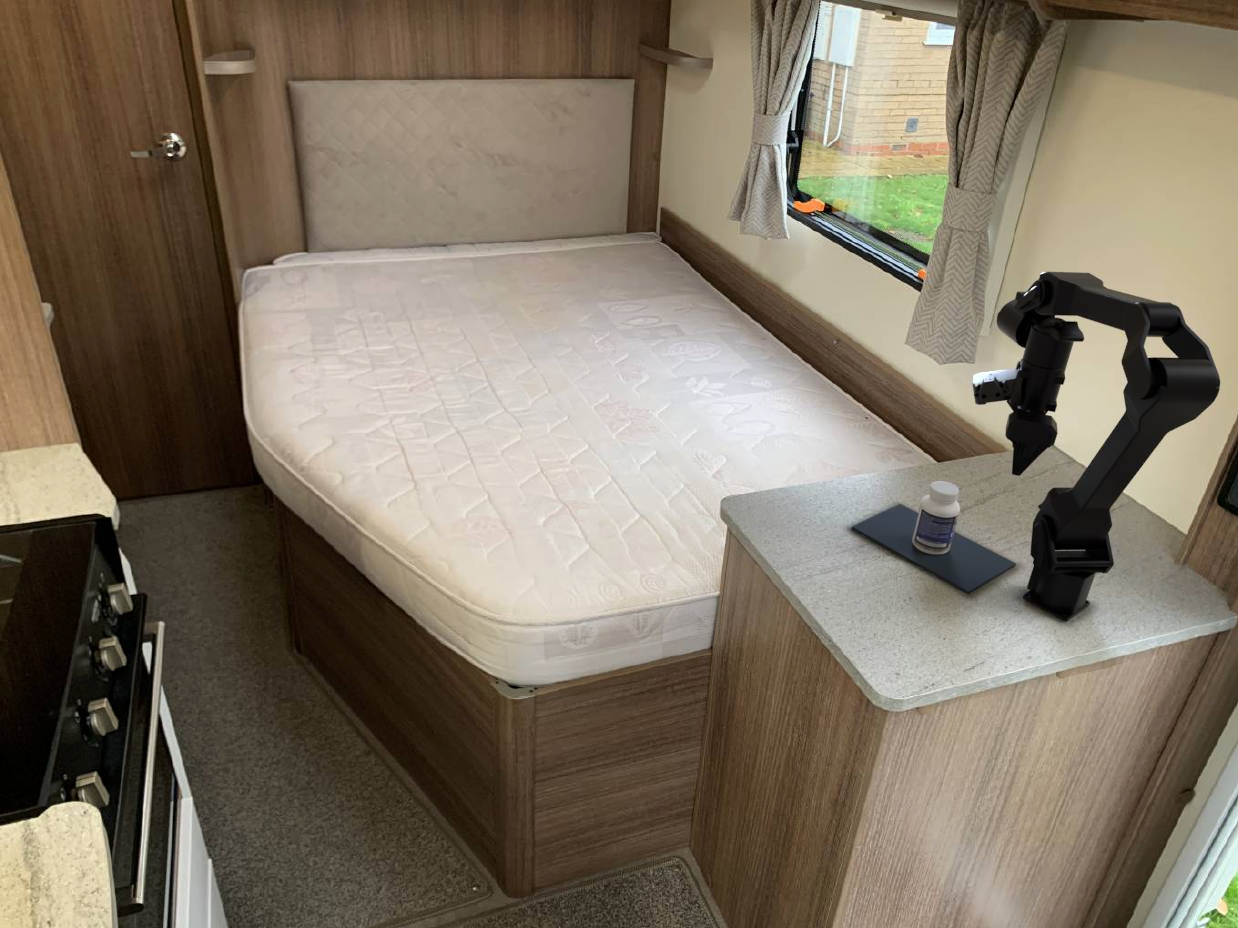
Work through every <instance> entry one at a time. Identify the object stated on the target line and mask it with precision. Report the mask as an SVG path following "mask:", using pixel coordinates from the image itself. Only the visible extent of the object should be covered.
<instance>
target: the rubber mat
mask: <svg viewBox="0 0 1238 928" xmlns="http://www.w3.org/2000/svg"><path fill="white" fill-rule="evenodd" d="M918 513H919V512H917V511H915V510H913V509H911V508H909V507H907V506H906V505H903V504H902V503H898V504H897V505H894V506H892V507H890V508H888V509H886V510H884V511H882V512H879V513H878V514H875V515H874V516H871V517H869V518H867V519H865V520H862V521H861V522H859V523H857V524H854V525H852V526H851V530H852V531H854V532H855V533H857V534H859V535H861V536H862V537H864V538H866V539H867V540H869V541H871V542H873V543H875V544H877V545H878V546H881V547H882V548H884V549H886V550H888V551H889V552H891V553H892V554H894V555H896V556H898V557H900V558H902V559H904V560H906V561H907V562H909V563H910V564H913V565H914V566H916V567H918V568H920V569H921V570H923V571H925V572H926V573H929V574H930V575H932V576H934V577H935V578H937V579H939V580H941V581H943V582H945V583H947V584H948V585H950V586H951V587H954V588H955V589H957V590H959V591H961V592H963V593H964V594H966V595H970V594H972V593H973V592H975V591H977V590H978V589H980V588H982V587H983V586H985V585H987V584H988V583H990V582H992V581H993V580H995V579H997V578H998V577H1000V576H1001V575H1003V574H1005V573H1006V572H1008V571H1009V570H1011V569H1013V568H1014V567H1016V565H1017V563H1016V562H1014V561H1012V560H1010V559H1008V558H1006V557H1004V556H1003V555H1001V554H998V553H997V552H995V551H993V550H991V549H989V548H987V547H985V546H983V545H981V544H979V543H977V542H975V541H973V540H972V539H970V538H968V537H966V536H964V535H962V534H960V533H958V532H956V531H955V532H954V535H953V539H952V543H951V546H950V549H949V551H948V552H947V553H945V554H940V555H933V554H928V553H924V552H922V551H920V550H919V549H917V548H916V547H915V546H914V545H913V542H912V538H913V533H914V529H915V525H916V521H917V517H918Z"/></svg>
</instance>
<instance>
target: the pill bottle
mask: <svg viewBox="0 0 1238 928" xmlns="http://www.w3.org/2000/svg"><path fill="white" fill-rule="evenodd" d="M959 495H960V488H959V487H958V485H955V484H953V483H951V482H948V481H943V480H937V481H933V482H931V483H930V486H929V489H928V494H926V495H924V496H923V497H922V499H921V501H920V504H919V509H918V512H917V513H918V517H917V521H916V525H915V529H914V533H913V538H912V542H913V545H914V546H915V547H916V548H917V549H919V550H920V551H922V552H924V553H928V554H933V555H940V554H945V553H947V552H948V551H949V549H950V546H951V543H952V539H953V535H954V532H956V527H957V523H958V520H959V516H960V512H961V505H960V504H959V502H958V499H959Z"/></svg>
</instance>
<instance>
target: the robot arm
mask: <svg viewBox="0 0 1238 928" xmlns="http://www.w3.org/2000/svg"><path fill="white" fill-rule="evenodd" d="M1056 316H1059V317H1056ZM1060 316H1063V317H1065V316H1066V317H1080V318H1082V319H1086V320H1089V321H1091V322H1095V323H1098V324H1101V325H1104V326H1107V327H1111V328H1114V329H1117V330H1120V331H1123V332H1124V333H1125V336H1126V337H1125V338H1126V340H1127V341H1126V345H1125V347H1124V351H1123V353H1122V358H1121V360H1120V361H1121V366H1122V369H1123V372H1124V376H1125V379H1126V381H1127V382H1126V384H1125V386H1124V389H1123V391H1122V395H1123V399H1124V400H1123V401H1124V406H1125V411H1124V413H1123V414H1122V416H1121V418H1120V419H1119V421H1118V422H1117V423H1116V425H1115V426H1114V427H1113V429H1112V430H1111V432H1110V433H1109V435H1108V437H1107V438H1106V439H1105V440H1104V443H1103V444H1102V445H1101V446H1100V448H1099V450H1098V451H1097V452H1096V454H1095V455H1094V457H1093V458H1092V460H1091V461H1090V463H1089V464H1088V466H1087V467H1086V468H1085V469H1084V471H1083V473H1082V474H1081V475H1080V476H1079V478H1078V479H1077V480H1076V483H1075V484H1074V485H1073V487H1052V488H1051V489H1049V491H1047V494H1046V496H1045V498H1044V499H1043V501H1042V502H1041V503H1040V504H1038V506H1037V508H1038V509H1039V510H1038V511H1037V513H1036V515H1035V518H1034V519H1033V521H1032V529H1031V539H1030V540H1031V542H1030V556H1031V557H1032V559H1033V561H1032V565H1033V567H1032V570H1031V573H1030V576H1029V579H1028V582H1027V586H1026V588H1027V591H1025V592H1024V593H1023V594H1022V600H1025V601H1026V602H1028V603H1030V604H1032V605H1033V606H1036V607H1038V608H1040V609H1041V610H1043V611H1045V612H1046V613H1048V614H1050V615H1052V616H1054V617H1056V618H1057V619H1060V620H1062V621H1064V622H1068V621H1070V620H1072V619H1073V618H1074V617H1076V616H1077V615H1078V614H1080V613H1081V612H1083V611H1085V609H1087V608H1088V607H1090V605H1091V602H1090V600H1088V596H1089V593H1090V590H1091V588H1092V585H1093V582H1094V580H1095V576H1096V574H1099V573H1101V574H1108V573H1110V571H1111V570H1112V568H1113V567H1114V565H1115V562H1114V555H1113V551H1112V546H1111V540H1110V535H1109V533H1110V531H1111V529H1112V527H1113V521H1112V515H1111V509H1112V507H1113V505H1114V504H1115V503H1116V501H1118V499H1119V497H1120V496H1121V495H1122V493H1123V492H1124V491H1125V490H1126V488H1127V487H1128V485H1129V484H1130V483H1131V482H1132V480H1133V479H1134V478H1135V476H1136V475H1137V474H1138V473H1139V471H1140V470H1141V468H1142V467H1143V466H1144V465H1145V463H1146V462H1147V460H1148V459H1149V458H1150V456H1152V454H1153V453H1154V451H1155V450H1156V449H1157V448H1158V446H1159V445H1160V443H1161V442H1162V441H1163V440H1164V438H1165V437H1166V436H1167V434H1169V433H1170V432H1173V431H1174V430H1177V429H1178V428H1180V427H1182V426H1185V425H1186V424H1189V423H1190V422H1192V421H1195V420H1196V419H1197V418H1198V417H1199V416H1201V415H1202V413H1204V412H1205V411H1207V409H1208V408H1209V407H1211V406H1212V404H1213V403H1214V402H1215V401H1216V399H1217V397H1218V395H1219V392H1220V390H1221V377H1220V374H1219V371H1218V368H1217V366H1216V363H1215V360H1214V358H1213V355H1212V352H1211V350H1210V348H1209V346H1208V344H1206V342H1205V341H1203V339H1202V338H1200V336H1199V335H1198V334H1197V333H1196V332H1195V331H1193V329H1192V328H1191V327H1190V326H1188V324H1187V323H1186V320H1185V318H1184V315H1183V311H1182V310H1181V308H1180V307H1179V305H1176V304H1174V303H1172V302H1169V301H1157V300H1153V299H1150V298H1145V297H1142V296H1138V295H1134V294H1130V293H1127V292H1122V291H1119V290H1116V289H1115V290H1114V289H1111V288H1107V287H1106V286H1104V281H1103V280H1102V279H1101V278H1099V277H1097V276H1095V275H1094V274H1092V273H1090V272H1079V271H1078V272H1077V271H1076V272H1073V271H1072V272H1071V271H1070V272H1069V271H1043V272H1041V273H1039V277H1038V279H1037V280H1035V281H1034V282H1033V283H1032V284H1031V286H1029V288H1028V289H1027V290H1026V291H1020V290H1019V291H1016V294H1015V297H1014V298H1013V299H1011V300H1010V301H1009V300H1008V302H1007V303H1006V304H1004V305H1003V306H1002V307H1001V308H1000V310H999V311H998V312H997V315H996V326H997V328H998V330H999V331H1000V332H1001V333H1002V334H1004V335H1005V336H1006V337H1008V338H1009V339H1010V340H1012V341H1013V342H1014V343H1015V344H1016V345H1018V347H1021V348H1023V349H1024V352H1023V356H1022V358H1020V359H1019V360H1017V363H1016V366H1015V368H1013V369H998V370H991V371H983V372H978V373H975V374H974V375H972V383H971V384H972V388H973V389H972V391H973V398H974V403H975V404H976V405H977V406H978V405H979V406H982V405H983V406H984V405H987V404H988V403H996V402H1004V401H1006V403H1007V404H1008V406H1009V407H1010V409H1011V410H1012V412H1011V413H1009V414H1008V416H1007V419H1006V425H1005V435H1004V436H1005V438H1006V439H1007V440H1008V441H1010V442H1011V444H1012V449H1013V450H1012V462H1011V463H1012V464H1011V474H1012V475H1013V476H1017V477H1019V476H1021V475H1022V474H1023V473H1025V471H1026V470H1027V469H1028V468H1029V467H1030V466H1032V464H1033V463H1034V462H1035V461H1036V460H1037V459H1038V458H1039V457H1040V456H1041V455H1042V454H1043V453H1044V452H1045V451H1046V450H1047V449H1049V448H1051V447H1052V446H1053V447H1054V446H1055V443H1056V440H1057V437H1058V434H1059V433H1058V432H1059V431H1058V423H1057V421H1056V420H1055V419H1054V417H1053V416H1052V415H1049V414H1048V412H1051V413H1056V410H1057V407H1058V402H1057V401H1058V400H1057V399H1058V397H1059V393H1060V389H1061V386H1064V384H1065V381H1066V373H1065V372H1066V370H1067V366H1068V362H1069V359H1070V356H1071V353H1072V349H1073V346H1074V343H1075V342H1076V343H1077V342H1078V343H1079V342H1080V343H1082V342H1084V341H1085V335H1084V333H1083V331H1082V330H1081V328H1080V327H1079V323H1078V321H1074V320H1072V321H1071V320H1065V319H1064V318H1061V317H1060ZM1147 338H1161V340H1162V342H1163V344H1164V345H1165V346H1166V347H1167V348H1169V350H1170V351H1171V352H1172V353H1173V354H1174V355H1175V356H1176V357H1161V356H1159V357H1158V356H1157V357H1156V356H1154V357H1153V356H1152V357H1148V355H1147V351H1146V349H1145V343H1146V341H1147Z"/></svg>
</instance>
